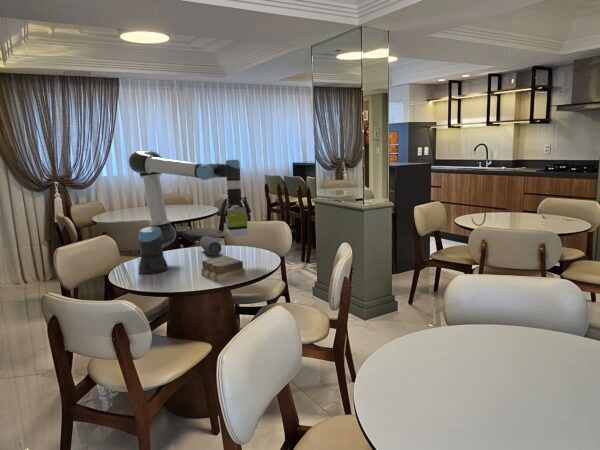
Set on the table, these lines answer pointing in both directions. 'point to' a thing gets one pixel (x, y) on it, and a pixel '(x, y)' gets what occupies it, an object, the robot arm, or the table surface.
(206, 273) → the oak slab
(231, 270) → the walnut slab
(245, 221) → the tea box
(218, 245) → the bluetooth speaker
